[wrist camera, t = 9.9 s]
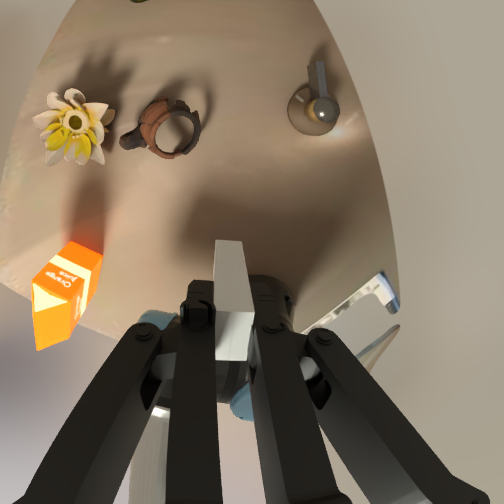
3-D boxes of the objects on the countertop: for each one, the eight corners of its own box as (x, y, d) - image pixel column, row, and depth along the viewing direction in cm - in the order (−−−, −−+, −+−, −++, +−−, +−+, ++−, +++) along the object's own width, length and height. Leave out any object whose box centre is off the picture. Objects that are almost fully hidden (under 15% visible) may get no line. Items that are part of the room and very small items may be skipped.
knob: (327, 122, 38) (340, 122, 33) (304, 123, 37) (315, 122, 33) (321, 67, 33) (334, 60, 29) (298, 66, 33) (308, 59, 29)
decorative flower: (36, 163, 34) (6, 160, 24) (53, 103, 32) (28, 87, 22) (105, 175, 38) (85, 172, 29) (124, 110, 36) (110, 91, 27)
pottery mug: (181, 84, 35) (197, 93, 30) (196, 132, 42) (213, 150, 37) (109, 117, 33) (110, 133, 28) (132, 163, 40) (138, 186, 35)
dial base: (329, 140, 40) (332, 141, 39) (282, 128, 39) (285, 128, 38) (338, 97, 37) (342, 96, 36) (292, 82, 36) (295, 81, 34)
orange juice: (65, 276, 46) (18, 340, 28) (70, 240, 43) (12, 299, 25) (96, 291, 48) (57, 362, 30) (104, 255, 45) (56, 324, 27)
